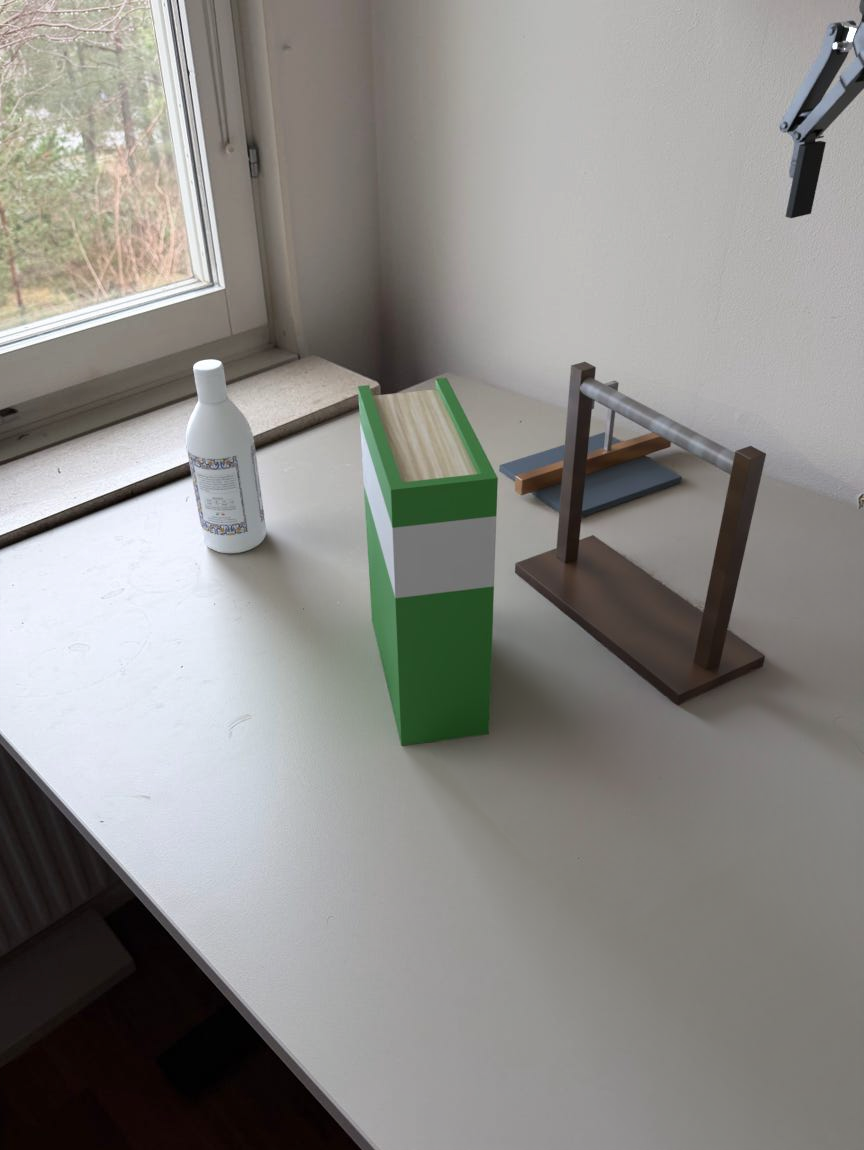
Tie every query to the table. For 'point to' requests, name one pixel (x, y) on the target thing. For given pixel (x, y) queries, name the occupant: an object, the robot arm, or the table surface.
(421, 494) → the hardback book
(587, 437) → the rail stand
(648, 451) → the hanger
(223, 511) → the bath foam
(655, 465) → the mat
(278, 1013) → the table surface
